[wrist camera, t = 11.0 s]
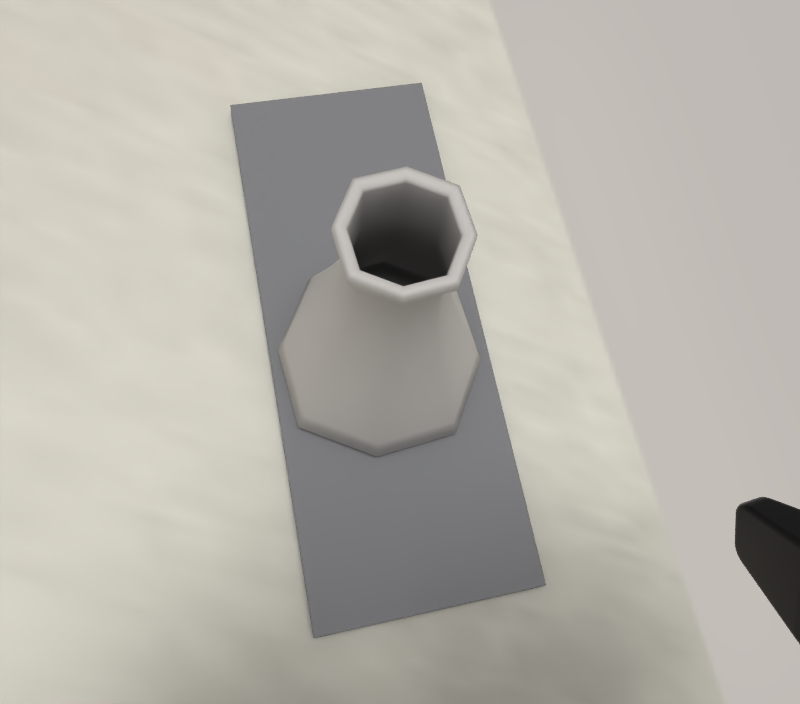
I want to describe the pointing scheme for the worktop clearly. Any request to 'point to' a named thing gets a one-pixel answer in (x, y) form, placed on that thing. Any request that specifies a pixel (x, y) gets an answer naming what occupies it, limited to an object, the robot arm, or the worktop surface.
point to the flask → (386, 318)
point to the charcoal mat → (343, 465)
